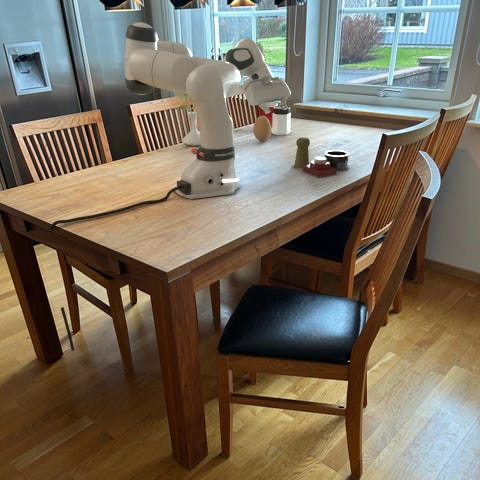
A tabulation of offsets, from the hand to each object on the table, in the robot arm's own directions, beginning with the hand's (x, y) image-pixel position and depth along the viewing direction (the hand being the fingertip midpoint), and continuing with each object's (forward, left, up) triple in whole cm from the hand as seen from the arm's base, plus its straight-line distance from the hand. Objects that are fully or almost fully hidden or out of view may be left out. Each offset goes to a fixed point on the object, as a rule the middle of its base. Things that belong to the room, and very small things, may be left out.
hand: (277, 110), depth 191 cm
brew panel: (+3, -25, -19) cm, 31 cm away
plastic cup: (+31, +55, -19) cm, 66 cm away
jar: (+29, +39, -19) cm, 52 cm away
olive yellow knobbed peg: (+2, -15, -19) cm, 24 cm away
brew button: (+3, -25, -15) cm, 29 cm away
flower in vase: (-18, +42, -19) cm, 49 cm away
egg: (+12, +30, -19) cm, 37 cm away
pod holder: (+13, -23, -19) cm, 32 cm away
